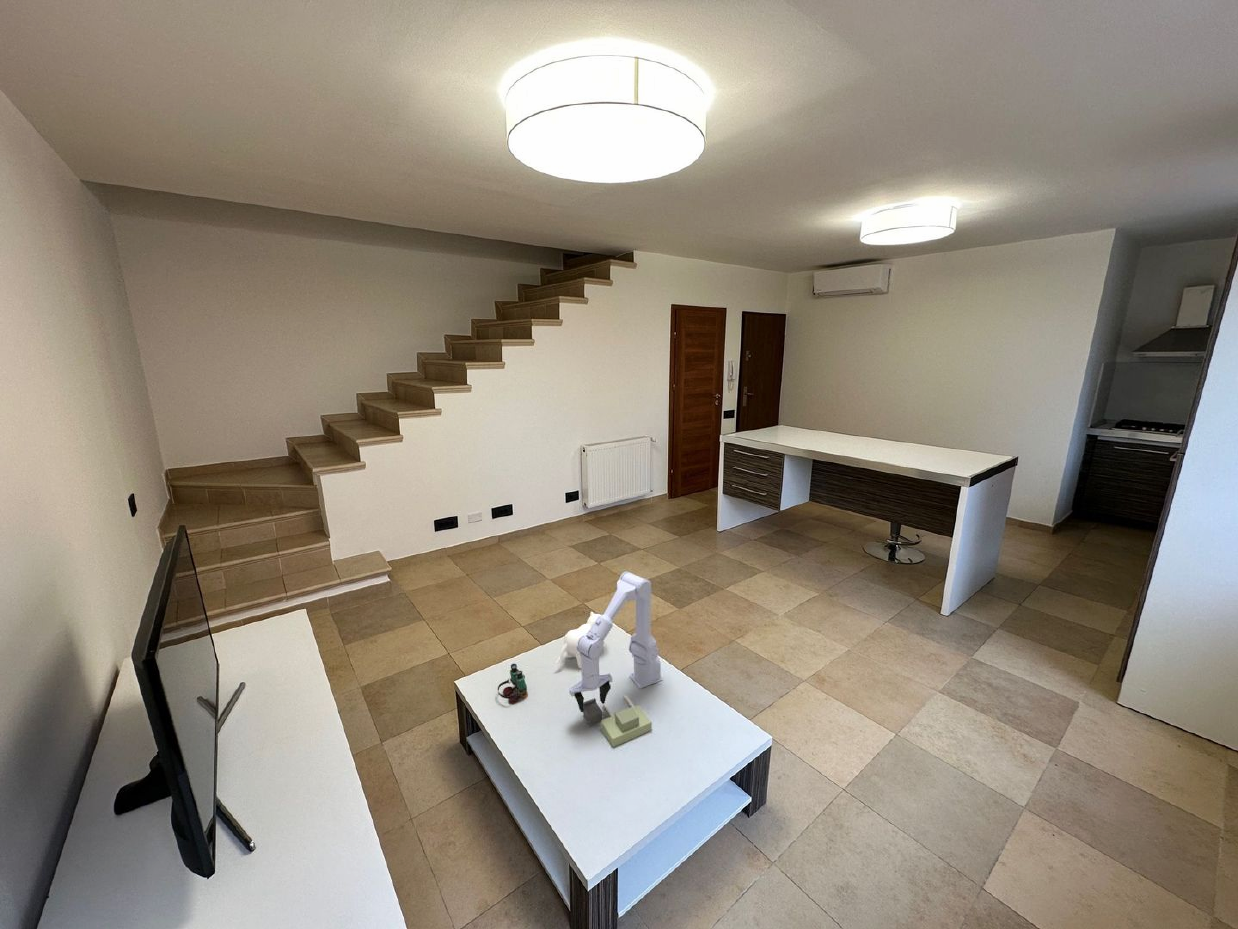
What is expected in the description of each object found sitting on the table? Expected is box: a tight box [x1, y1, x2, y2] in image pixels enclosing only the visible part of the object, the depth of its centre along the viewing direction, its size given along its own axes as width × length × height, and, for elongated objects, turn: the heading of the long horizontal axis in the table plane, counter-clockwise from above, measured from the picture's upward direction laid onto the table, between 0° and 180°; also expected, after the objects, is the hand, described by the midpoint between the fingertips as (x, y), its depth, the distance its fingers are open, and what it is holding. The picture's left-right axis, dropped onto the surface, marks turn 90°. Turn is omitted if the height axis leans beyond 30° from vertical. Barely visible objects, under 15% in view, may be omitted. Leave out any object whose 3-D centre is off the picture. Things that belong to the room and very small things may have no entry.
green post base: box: [600, 694, 653, 748], centre depth 160 cm, size 14×16×6 cm
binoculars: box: [497, 663, 529, 704], centre depth 172 cm, size 9×11×10 cm
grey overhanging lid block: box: [582, 697, 604, 728], centre depth 162 cm, size 4×6×5 cm
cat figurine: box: [555, 611, 601, 669], centre depth 190 cm, size 25×10×17 cm, turn 129°
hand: (591, 706), depth 161 cm, fingers open, 7 cm apart
